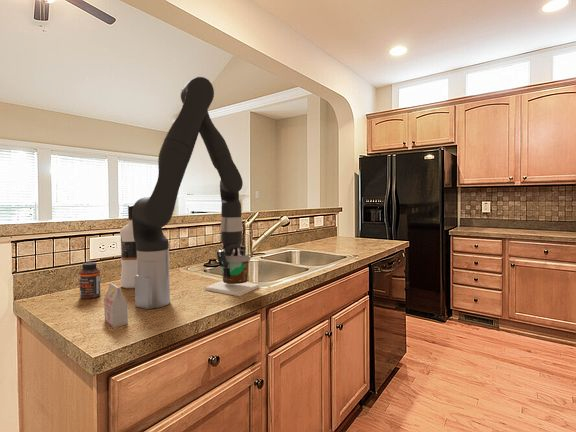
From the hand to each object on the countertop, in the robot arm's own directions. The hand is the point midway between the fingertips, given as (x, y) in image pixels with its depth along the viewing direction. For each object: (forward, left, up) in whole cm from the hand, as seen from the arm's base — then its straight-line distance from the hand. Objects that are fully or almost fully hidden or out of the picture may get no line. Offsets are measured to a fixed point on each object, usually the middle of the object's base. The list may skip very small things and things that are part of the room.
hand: (232, 276), depth 122 cm
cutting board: (0, 0, -5) cm, 5 cm away
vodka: (-14, +35, -5) cm, 38 cm away
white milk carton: (-40, +8, -5) cm, 41 cm away
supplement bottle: (-30, +36, -5) cm, 47 cm away
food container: (-1, 0, -2) cm, 2 cm away
